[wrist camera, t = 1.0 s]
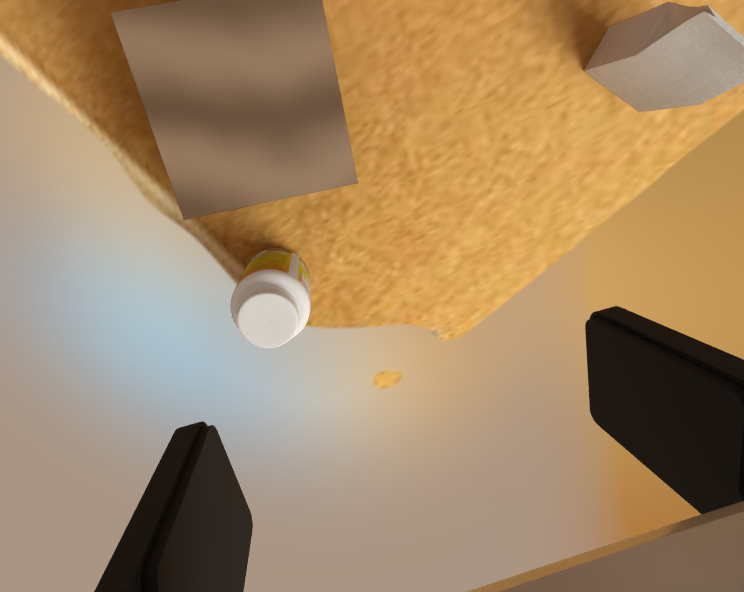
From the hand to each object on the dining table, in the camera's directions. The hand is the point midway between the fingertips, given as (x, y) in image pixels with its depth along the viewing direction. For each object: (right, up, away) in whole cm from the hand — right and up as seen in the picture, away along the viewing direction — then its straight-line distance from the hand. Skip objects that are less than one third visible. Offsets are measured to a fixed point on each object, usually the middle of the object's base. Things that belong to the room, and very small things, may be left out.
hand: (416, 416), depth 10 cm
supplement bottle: (-9, +5, +26) cm, 29 cm away
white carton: (+21, +22, +25) cm, 39 cm away
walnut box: (-10, +17, +22) cm, 29 cm away
